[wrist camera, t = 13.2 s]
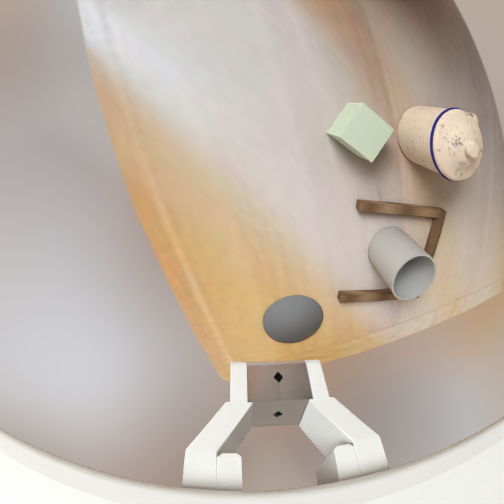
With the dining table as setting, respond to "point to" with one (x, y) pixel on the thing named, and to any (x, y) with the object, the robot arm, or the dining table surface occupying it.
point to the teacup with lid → (442, 140)
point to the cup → (401, 263)
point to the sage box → (360, 130)
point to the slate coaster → (292, 319)
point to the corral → (401, 209)
